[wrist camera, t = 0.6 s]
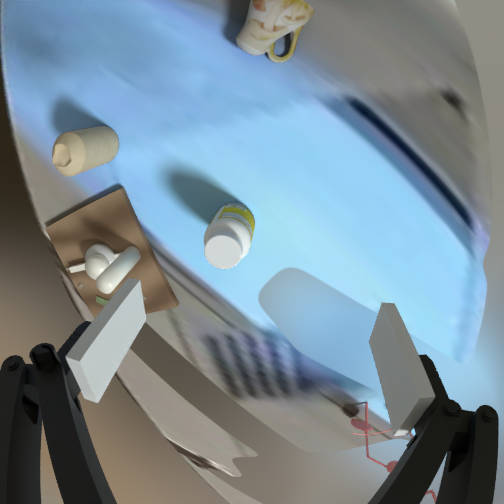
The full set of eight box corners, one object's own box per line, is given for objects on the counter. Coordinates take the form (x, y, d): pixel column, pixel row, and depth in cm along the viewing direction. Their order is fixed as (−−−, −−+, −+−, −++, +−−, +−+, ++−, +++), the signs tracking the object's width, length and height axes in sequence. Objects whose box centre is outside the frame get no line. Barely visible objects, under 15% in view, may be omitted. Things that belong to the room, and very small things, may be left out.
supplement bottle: (229, 246, 43) (214, 282, 34) (207, 213, 41) (187, 242, 32) (263, 228, 41) (257, 262, 32) (242, 194, 39) (229, 218, 30)
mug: (221, 47, 32) (217, -10, 22) (273, 16, 32) (281, -37, 22) (265, 78, 31) (273, 20, 21) (316, 43, 32) (334, -10, 22)
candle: (97, 169, 39) (55, 186, 30) (83, 137, 37) (39, 147, 28) (125, 153, 38) (84, 166, 29) (111, 118, 36) (67, 124, 27)
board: (48, 225, 44) (44, 228, 43) (123, 187, 40) (119, 189, 39) (100, 320, 52) (97, 324, 51) (179, 303, 48) (176, 307, 47)
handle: (133, 233, 42) (101, 262, 34) (147, 269, 44) (121, 303, 36) (65, 252, 45) (33, 278, 36) (79, 283, 47) (51, 312, 39)
